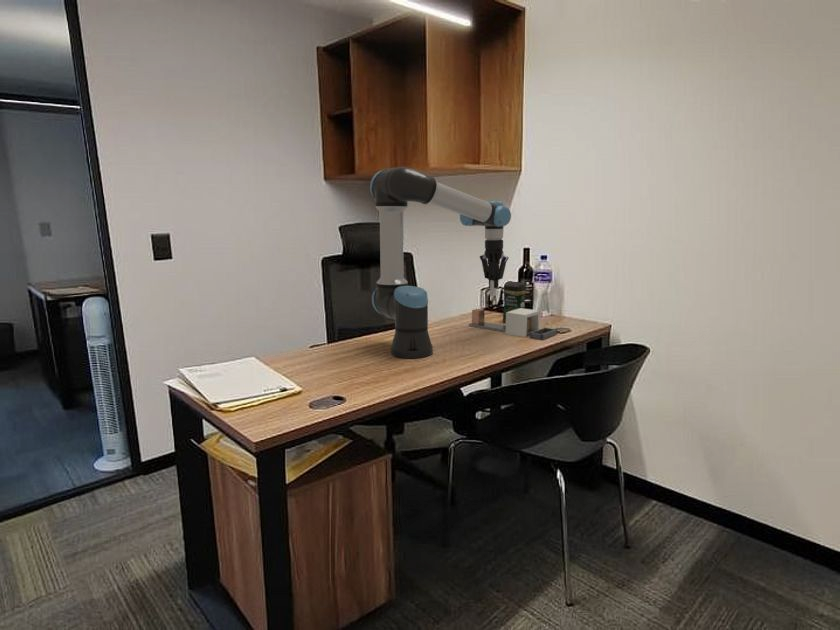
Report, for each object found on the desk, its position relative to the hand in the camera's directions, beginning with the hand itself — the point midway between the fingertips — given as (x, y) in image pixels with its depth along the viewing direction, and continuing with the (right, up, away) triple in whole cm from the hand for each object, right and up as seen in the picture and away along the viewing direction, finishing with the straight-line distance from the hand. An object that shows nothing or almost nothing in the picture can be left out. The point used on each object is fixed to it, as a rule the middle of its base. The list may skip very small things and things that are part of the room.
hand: (493, 295), depth 218 cm
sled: (+3, -14, 0) cm, 15 cm away
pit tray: (+18, -17, -13) cm, 28 cm away
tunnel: (+11, -16, -7) cm, 20 cm away
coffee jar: (+11, -12, +13) cm, 21 cm away
